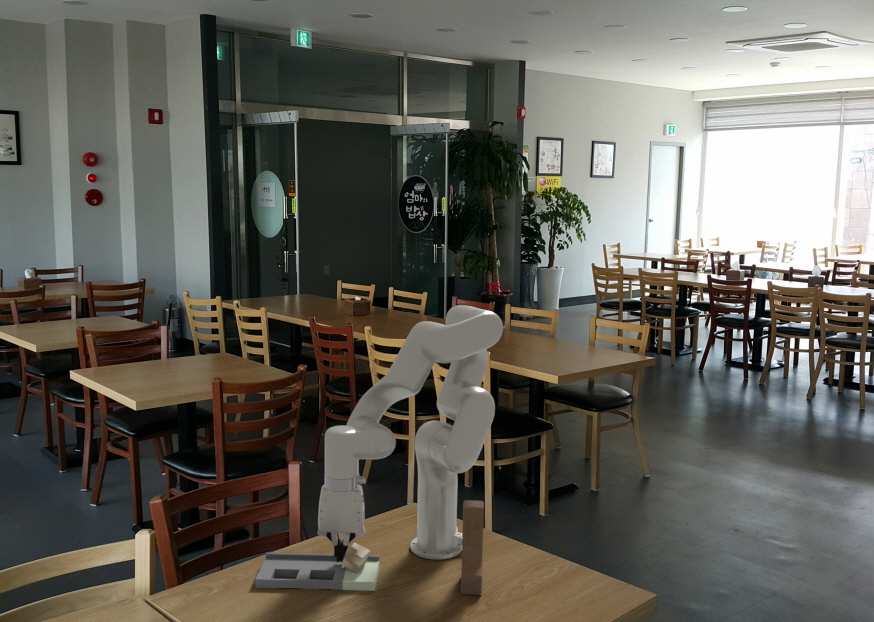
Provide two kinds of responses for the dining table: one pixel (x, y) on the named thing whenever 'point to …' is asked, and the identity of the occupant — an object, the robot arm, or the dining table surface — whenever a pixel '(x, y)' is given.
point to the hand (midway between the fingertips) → (341, 559)
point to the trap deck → (315, 572)
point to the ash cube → (355, 557)
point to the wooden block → (472, 547)
